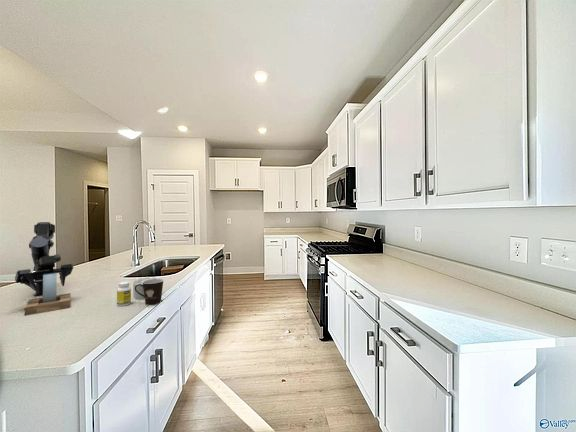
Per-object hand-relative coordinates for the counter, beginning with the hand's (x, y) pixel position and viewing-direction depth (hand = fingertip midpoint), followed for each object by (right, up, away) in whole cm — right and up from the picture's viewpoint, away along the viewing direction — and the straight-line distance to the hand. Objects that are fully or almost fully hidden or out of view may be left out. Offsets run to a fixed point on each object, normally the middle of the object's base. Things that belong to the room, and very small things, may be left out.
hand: (50, 287), depth 113 cm
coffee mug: (+41, -9, +6) cm, 42 cm away
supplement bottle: (+30, -9, +4) cm, 32 cm away
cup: (+33, -9, +17) cm, 38 cm away
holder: (-1, -9, 0) cm, 9 cm away
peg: (-1, -8, 0) cm, 8 cm away
